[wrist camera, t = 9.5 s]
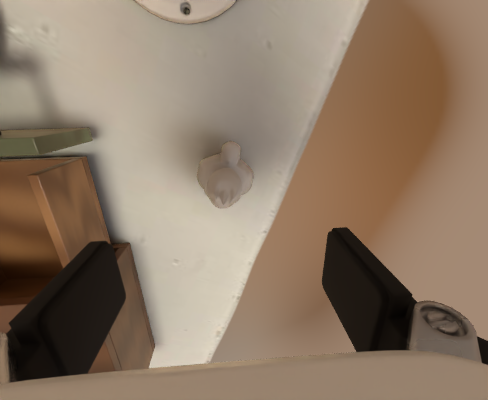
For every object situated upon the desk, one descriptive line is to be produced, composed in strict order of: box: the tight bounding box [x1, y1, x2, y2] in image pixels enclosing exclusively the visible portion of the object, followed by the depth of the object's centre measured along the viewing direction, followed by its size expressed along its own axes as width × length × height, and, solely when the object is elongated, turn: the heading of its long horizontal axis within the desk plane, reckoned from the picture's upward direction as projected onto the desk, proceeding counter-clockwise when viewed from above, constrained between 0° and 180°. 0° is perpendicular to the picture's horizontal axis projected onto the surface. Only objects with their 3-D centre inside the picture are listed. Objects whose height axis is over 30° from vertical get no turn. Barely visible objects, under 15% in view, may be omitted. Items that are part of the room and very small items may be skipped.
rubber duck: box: [197, 141, 254, 208], centre depth 22 cm, size 5×7×8 cm
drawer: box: [0, 128, 111, 299], centre depth 20 cm, size 22×14×7 cm, turn 1°
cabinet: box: [0, 243, 155, 374], centre depth 27 cm, size 18×15×9 cm
